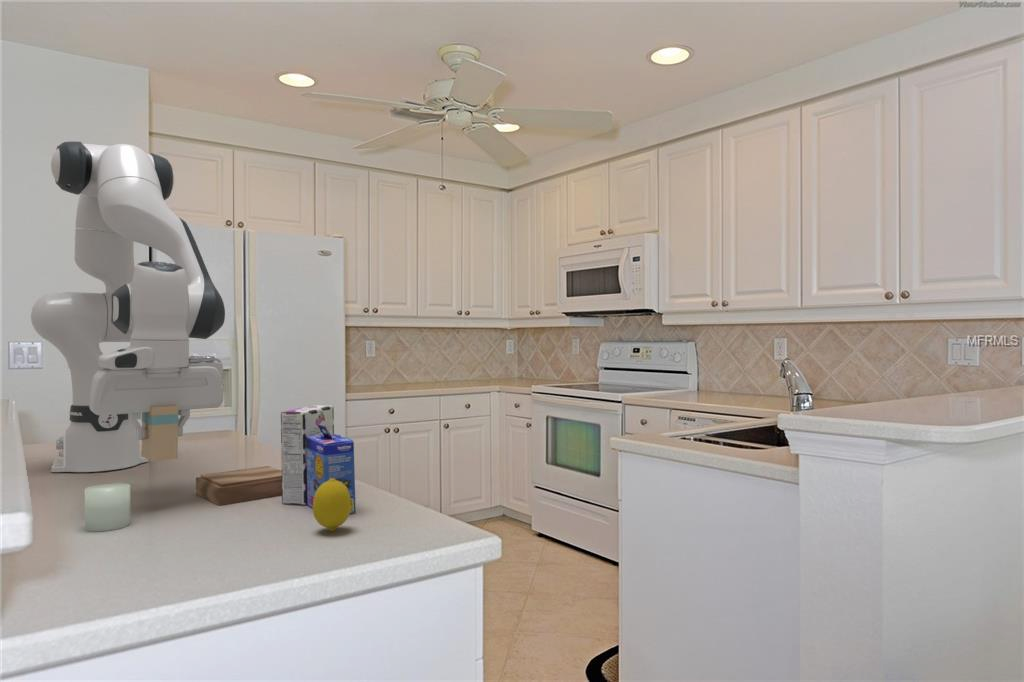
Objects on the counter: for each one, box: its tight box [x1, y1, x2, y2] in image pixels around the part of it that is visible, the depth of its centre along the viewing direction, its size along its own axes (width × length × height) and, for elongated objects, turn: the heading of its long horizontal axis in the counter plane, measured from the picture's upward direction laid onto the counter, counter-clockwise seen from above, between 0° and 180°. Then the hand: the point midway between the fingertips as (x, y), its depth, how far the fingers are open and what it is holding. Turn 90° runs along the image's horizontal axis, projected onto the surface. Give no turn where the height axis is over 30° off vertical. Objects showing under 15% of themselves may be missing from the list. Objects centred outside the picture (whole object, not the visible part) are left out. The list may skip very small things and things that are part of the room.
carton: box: [141, 405, 179, 462], centre depth 112 cm, size 6×4×9 cm
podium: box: [195, 465, 282, 506], centre depth 123 cm, size 12×14×4 cm
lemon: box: [312, 478, 351, 532], centre depth 99 cm, size 6×6×8 cm
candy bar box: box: [280, 404, 335, 506], centre depth 120 cm, size 11×5×16 cm, turn 168°
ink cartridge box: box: [306, 424, 357, 514], centre depth 112 cm, size 10×6×14 cm, turn 35°
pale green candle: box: [84, 482, 131, 532], centre depth 101 cm, size 6×6×6 cm
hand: (159, 437), depth 112 cm, fingers closed on carton, 4 cm apart
